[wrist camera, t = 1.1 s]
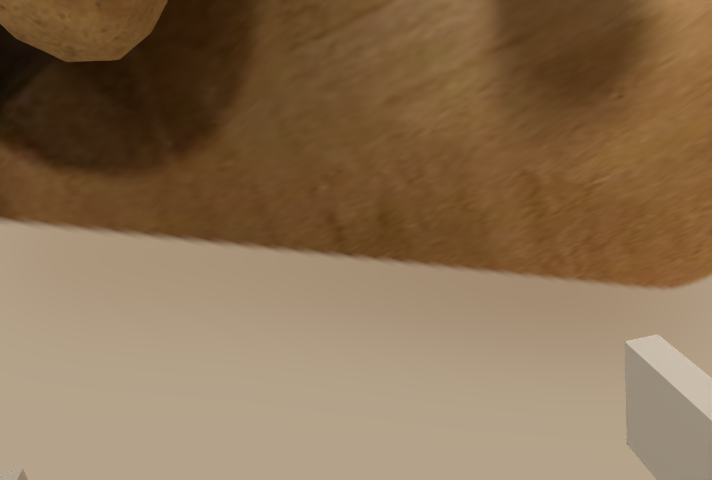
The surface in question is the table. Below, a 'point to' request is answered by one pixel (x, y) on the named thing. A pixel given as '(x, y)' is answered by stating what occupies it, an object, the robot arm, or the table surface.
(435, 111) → the table surface
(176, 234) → the table surface
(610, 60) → the table surface
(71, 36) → the potato
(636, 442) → the robot arm
